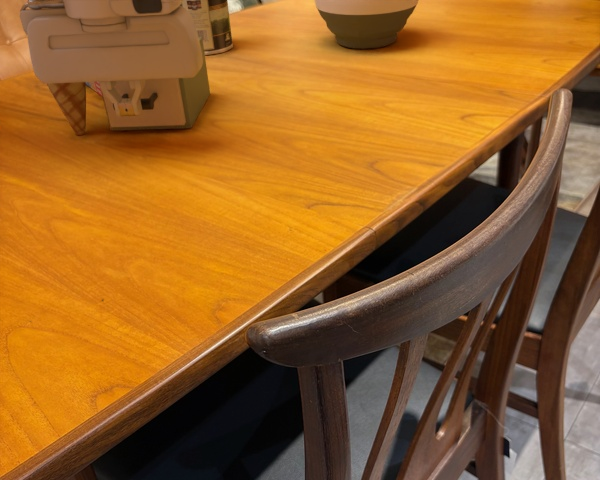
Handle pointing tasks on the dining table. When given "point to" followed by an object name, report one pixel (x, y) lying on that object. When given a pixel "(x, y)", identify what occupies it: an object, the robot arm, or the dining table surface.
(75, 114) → the ice cream cone
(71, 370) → the dining table surface
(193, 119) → the cabinet
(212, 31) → the coffee can
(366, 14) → the bowl
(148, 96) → the drawer
